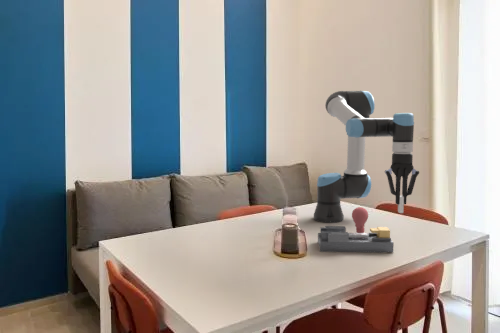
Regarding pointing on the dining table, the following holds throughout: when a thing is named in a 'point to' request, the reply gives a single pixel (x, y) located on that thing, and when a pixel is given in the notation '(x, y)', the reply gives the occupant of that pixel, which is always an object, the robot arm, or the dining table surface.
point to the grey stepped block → (351, 241)
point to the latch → (381, 232)
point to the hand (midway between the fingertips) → (400, 212)
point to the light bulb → (360, 218)
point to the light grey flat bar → (358, 235)
